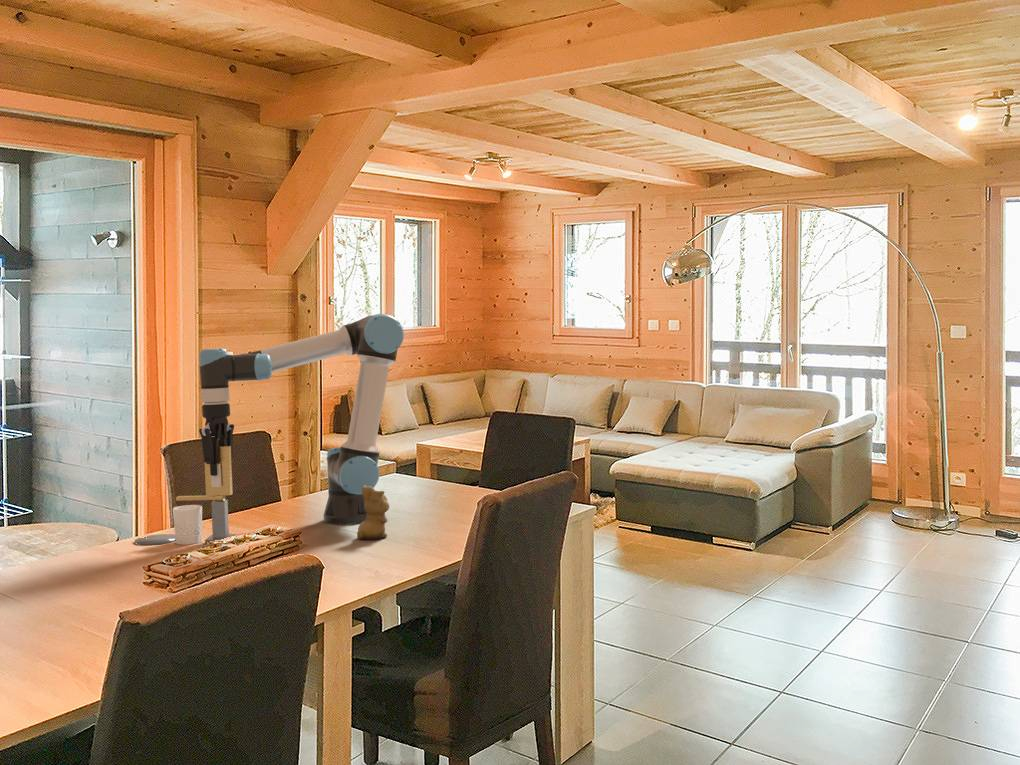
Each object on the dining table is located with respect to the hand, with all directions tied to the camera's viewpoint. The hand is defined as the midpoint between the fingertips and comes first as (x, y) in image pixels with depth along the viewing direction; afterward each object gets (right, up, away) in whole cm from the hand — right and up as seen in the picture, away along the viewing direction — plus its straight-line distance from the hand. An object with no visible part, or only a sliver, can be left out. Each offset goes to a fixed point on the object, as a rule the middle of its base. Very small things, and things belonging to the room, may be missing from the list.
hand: (220, 485), depth 260 cm
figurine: (+44, -15, 0) cm, 47 cm away
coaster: (-19, -16, +4) cm, 25 cm away
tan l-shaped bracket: (-4, -4, 0) cm, 6 cm away
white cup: (-9, -16, 0) cm, 19 cm away
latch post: (0, -16, +1) cm, 16 cm away
